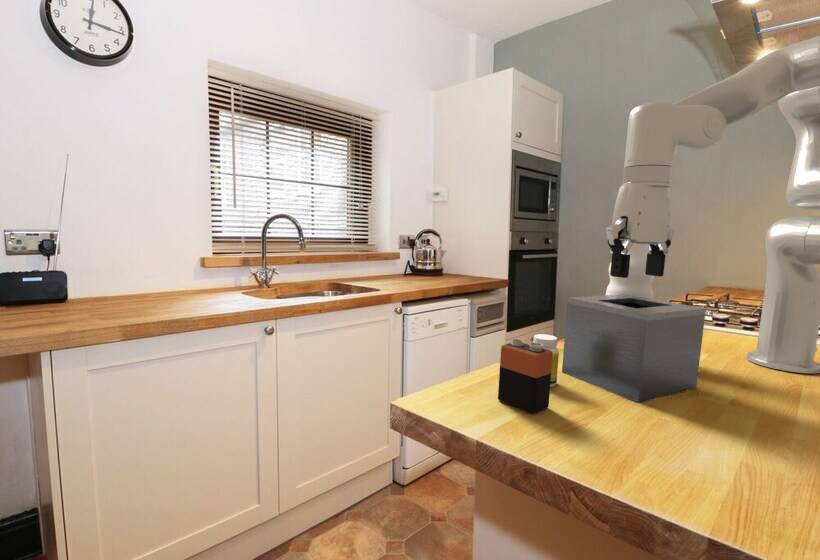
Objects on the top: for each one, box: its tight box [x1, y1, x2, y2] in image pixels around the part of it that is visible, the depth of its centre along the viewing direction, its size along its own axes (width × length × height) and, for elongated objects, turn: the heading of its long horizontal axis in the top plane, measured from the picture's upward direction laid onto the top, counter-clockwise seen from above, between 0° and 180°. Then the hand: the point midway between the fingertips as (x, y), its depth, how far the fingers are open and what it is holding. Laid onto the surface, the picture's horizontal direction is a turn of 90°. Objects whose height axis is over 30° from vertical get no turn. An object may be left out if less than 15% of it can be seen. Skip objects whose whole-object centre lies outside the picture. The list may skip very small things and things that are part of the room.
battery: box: [497, 338, 553, 415], centre depth 68 cm, size 4×7×10 cm, turn 41°
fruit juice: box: [605, 243, 656, 299], centre depth 96 cm, size 9×9×28 cm
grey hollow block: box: [561, 294, 707, 403], centre depth 81 cm, size 16×16×14 cm
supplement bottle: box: [532, 333, 560, 388], centre depth 78 cm, size 5×5×8 cm
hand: (637, 276), depth 79 cm, fingers open, 9 cm apart
